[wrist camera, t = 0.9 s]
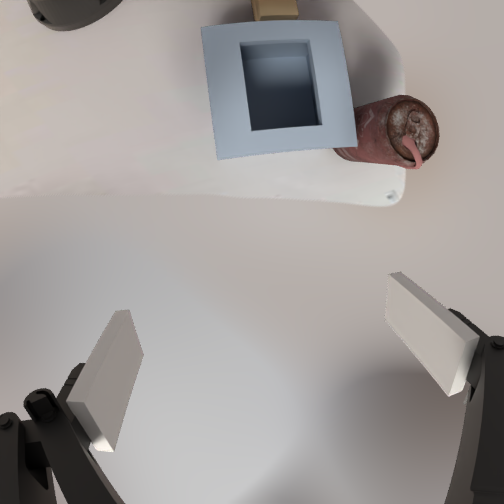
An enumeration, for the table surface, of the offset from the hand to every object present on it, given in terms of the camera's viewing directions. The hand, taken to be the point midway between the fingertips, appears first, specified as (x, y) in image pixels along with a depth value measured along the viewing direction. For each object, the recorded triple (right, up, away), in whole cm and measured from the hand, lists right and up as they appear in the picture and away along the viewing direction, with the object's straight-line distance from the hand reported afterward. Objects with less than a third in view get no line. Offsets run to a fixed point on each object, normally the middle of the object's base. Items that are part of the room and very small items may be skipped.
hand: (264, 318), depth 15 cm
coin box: (+1, +20, +18) cm, 27 cm away
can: (+11, +17, +20) cm, 28 cm away
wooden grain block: (+1, +32, +14) cm, 35 cm away
